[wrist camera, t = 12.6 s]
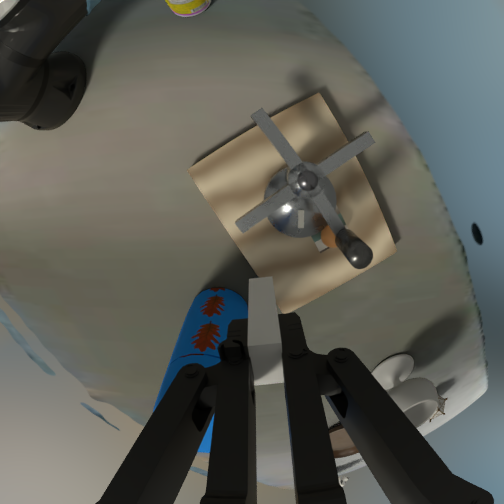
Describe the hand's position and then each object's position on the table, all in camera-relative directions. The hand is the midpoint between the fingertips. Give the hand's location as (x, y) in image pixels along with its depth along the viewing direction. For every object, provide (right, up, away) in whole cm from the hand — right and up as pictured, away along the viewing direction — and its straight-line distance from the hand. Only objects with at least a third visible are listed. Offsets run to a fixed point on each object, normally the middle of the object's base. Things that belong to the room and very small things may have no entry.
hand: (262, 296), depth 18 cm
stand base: (+7, +9, +23) cm, 26 cm away
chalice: (+32, -25, +37) cm, 55 cm away
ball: (+11, +6, +22) cm, 25 cm away
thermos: (-6, -8, +30) cm, 32 cm away
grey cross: (+6, +13, +19) cm, 24 cm away
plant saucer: (+27, -51, +47) cm, 75 cm away
